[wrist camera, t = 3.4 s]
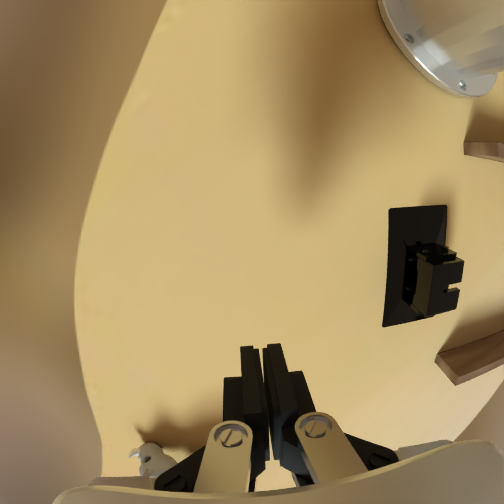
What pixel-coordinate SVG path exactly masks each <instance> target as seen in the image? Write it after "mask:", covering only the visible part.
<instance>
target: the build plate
mask: <svg viewBox="0 0 504 504" xmlns="http://www.w3.org/2000/svg"><path fill="white" fill-rule="evenodd" d="M446 226H447V205H431V206H416V207H401V208H390V209H389V230H388V263H387V280H386V293H385V304H384V314H383V323H382V327H388V326H393V325H398V324H403V323H408V322H412V321H417V320H421V319H425V318H430V317H433V316H434V315H436V314H440V313H444V312H448V311H451V310H455V309H456V307H457V303H458V298H459V292H460V289H458V288H457V287H456V288H451V289H448V287H449V285H450V284H455V283H459V282H461V281H462V274H463V267H464V260H462V259H460V258H458V257H456V254H457V253H456V252H454V251H452V250H450V249H449V247H447V246H445V240H446Z"/></svg>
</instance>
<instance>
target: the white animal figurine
mask: <svg viewBox="0 0 504 504" xmlns="http://www.w3.org/2000/svg"><path fill="white" fill-rule="evenodd" d="M132 456H138V458H137V459H138V460H140V461H141V466H140V469H139V471H140V476H150V478H156V477H158V476H159V475H161V474H162V473H163V472H165V471H167V470H168V469H170V468H172V467H173V466H175V465H176V464H178V463H177V462H176V461H175V459H173V458H172V457H170V456H168V455H166V454H164V452H163V450H162V449H161V447H160V446H158V445H157V444H154V443H145V444H143V445H141V446H140V447H139V448H136V449H133V450H132V451H131V452H130V453H129V458H130V457H132Z"/></svg>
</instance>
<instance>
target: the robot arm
mask: <svg viewBox="0 0 504 504" xmlns="http://www.w3.org/2000/svg"><path fill="white" fill-rule="evenodd" d="M378 6H379V10H380V14H381V16H382V19H383V21H384V23H385V26H386V28H387V30H388V31H389V33H390V35H391V36H392V38H393V40H394V42H395V43H396V44H397V46H398V47H399V48H400V50H401V51H402V52H403V54H404V55H405V56H406V57H407V58H408V60H409V61H410V62H411V63H412V64H413V65H414V66H415V68H417V69H418V70H419V71H420V72H421V73H422V74H423V75H424V76H425V77H426V78H427V79H429V80H430V81H431V82H433V83H434V84H435V85H437V86H438V87H439V88H441V89H443V90H445V91H446V92H448V93H450V94H453V95H456V96H458V97H464V98H473V97H480V96H483V95H485V94H487V93H488V92H489V91H490V90H492V88H493V86H494V84H495V83H496V79H497V75H498V72H502V71H504V0H378ZM262 350H263V372H264V382H263V375H262V368H261V362H260V355H259V349H253V346H241V347H240V352H241V372H242V377H225V378H224V390H223V422H221V423H219V424H217V425H216V426H214V427H213V428H212V430H211V431H210V433H209V437H208V441H207V444H206V445H205V446H204V447H202V448H201V449H199V450H198V451H196V452H195V453H193V454H192V455H190V456H189V457H187V458H186V459H184V460H183V461H181V462H180V463H178V464H176V465H175V466H173V467H172V468H170V469H168V470H167V471H165V472H163V473H162V474H161V475H159V476H158V477H156V478H150V476H134V477H99V478H95V479H94V480H92V481H91V482H90V483H89V484H88V486H84V487H77V488H73V489H69V490H66V491H64V492H62V493H61V494H60V495H59V496H58V497H57V498H56V499H55V500H54V502H53V503H52V504H504V453H503V452H502V451H501V450H500V449H499V448H498V447H496V446H495V445H494V444H492V443H490V442H488V441H484V440H468V441H461V442H456V443H453V442H452V441H449V440H439V441H435V442H430V443H425V444H420V445H414V446H408V447H401V448H398V450H397V451H393V450H391V449H389V448H386V447H383V446H380V445H377V444H374V443H371V442H368V441H365V440H362V439H360V438H357V437H354V436H351V435H349V434H346V433H343V431H342V430H341V428H340V427H339V425H338V423H337V422H336V420H335V419H334V418H333V417H332V416H330V415H328V414H326V413H322V412H316V409H315V406H314V404H313V401H312V398H311V395H310V392H309V389H308V386H307V383H306V380H305V377H304V375H303V372H302V371H294V372H288V369H287V365H286V362H285V358H284V354H283V351H282V347H281V344H280V343H277V344H267V348H263V349H262ZM269 430H270V437H271V443H272V450H273V456H274V460H280V466H283V468H285V469H287V470H289V471H291V473H292V477H293V480H294V482H295V484H296V487H294V488H287V489H279V490H270V491H258V492H256V486H257V476H258V475H259V474H261V473H262V472H263V471H264V470H265V469H266V468H265V461H270V451H269Z"/></svg>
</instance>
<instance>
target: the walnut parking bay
mask: <svg viewBox="0 0 504 504" xmlns="http://www.w3.org/2000/svg"><path fill="white" fill-rule="evenodd" d="M464 155H469V156H474V157H480V158H485V159H490V160H495V161H499V162H504V144H503V143H499V142H464ZM435 363H436V364H437V365H438V366H439V368H440V369H441V370H442V371H443V372H444V373H445V375H446V376H447V377H448V378H449V379H450V380H451V382H452V383H453V384H454V385H455V386H456V385H459V384H461V383H464V382H466V381H468V380H471V379H473V378H475V377H477V376H480V375H482V374H484V373H486V372H488V371H490V370H493V369H495V368H497V367H499V366H501V365H503V364H504V331H501V332H499V333H496V334H494V335H491V336H489V337H486V338H483V339H481V340H478V341H475V342H472V343H470V344H467V345H464V346H461V347H458V348H455V349H451V350H448V351H445V352H442V353H438V354H437V356H436V360H435Z"/></svg>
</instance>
